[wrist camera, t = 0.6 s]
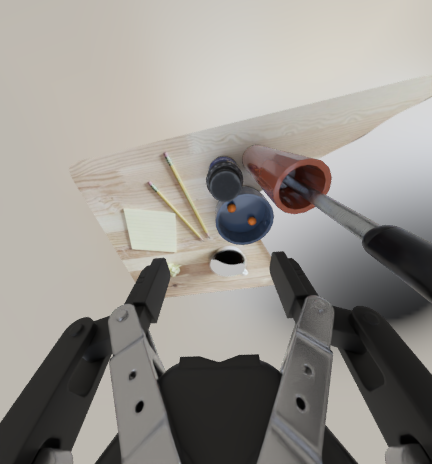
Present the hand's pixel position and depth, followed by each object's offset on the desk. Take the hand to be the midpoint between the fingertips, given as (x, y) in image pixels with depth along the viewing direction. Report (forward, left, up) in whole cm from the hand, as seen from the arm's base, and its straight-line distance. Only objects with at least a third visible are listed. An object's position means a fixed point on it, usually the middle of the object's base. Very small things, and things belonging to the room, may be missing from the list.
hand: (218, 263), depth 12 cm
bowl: (+9, +4, -25) cm, 27 cm away
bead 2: (+11, +6, -24) cm, 27 cm away
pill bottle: (-1, +2, -26) cm, 26 cm away
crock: (-2, +8, -25) cm, 27 cm away
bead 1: (+6, +2, -24) cm, 25 cm away
